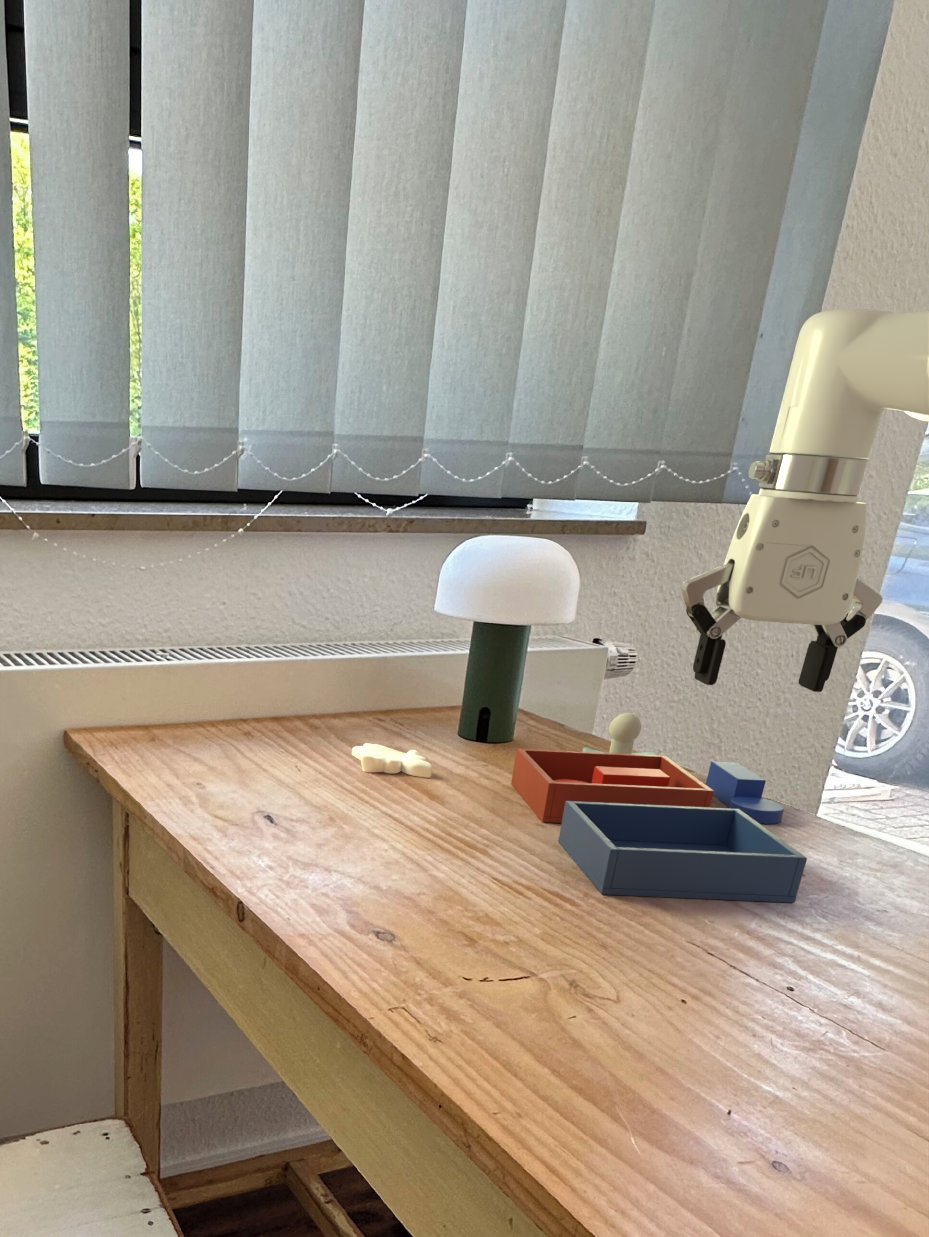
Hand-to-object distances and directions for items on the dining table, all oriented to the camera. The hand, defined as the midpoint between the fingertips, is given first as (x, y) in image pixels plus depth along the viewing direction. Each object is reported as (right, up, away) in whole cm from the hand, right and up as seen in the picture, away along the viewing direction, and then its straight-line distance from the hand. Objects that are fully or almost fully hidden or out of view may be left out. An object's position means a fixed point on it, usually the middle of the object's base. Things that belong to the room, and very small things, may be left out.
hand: (757, 685), depth 96 cm
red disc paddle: (-14, -10, +1) cm, 17 cm away
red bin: (-14, -11, +1) cm, 17 cm away
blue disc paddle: (0, -11, +3) cm, 11 cm away
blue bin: (-13, -17, -14) cm, 26 cm away
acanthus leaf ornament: (-32, -6, +9) cm, 34 cm away
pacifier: (-9, -6, +12) cm, 16 cm away
